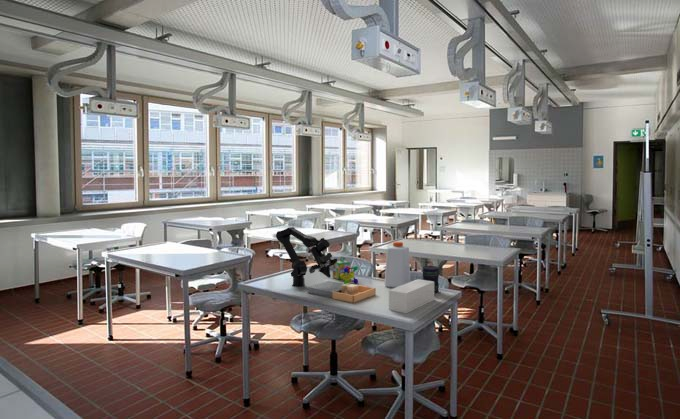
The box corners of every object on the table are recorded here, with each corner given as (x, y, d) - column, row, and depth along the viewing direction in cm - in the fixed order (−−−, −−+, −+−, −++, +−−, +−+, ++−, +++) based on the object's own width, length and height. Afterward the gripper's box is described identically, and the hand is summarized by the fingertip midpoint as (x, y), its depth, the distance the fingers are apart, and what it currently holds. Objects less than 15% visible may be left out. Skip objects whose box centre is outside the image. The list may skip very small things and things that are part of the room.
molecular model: (346, 286, 298) (346, 268, 297) (338, 284, 303) (339, 266, 303) (359, 283, 305) (359, 266, 305) (352, 281, 311) (352, 264, 310)
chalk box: (332, 277, 323) (332, 256, 321) (343, 276, 327) (343, 255, 326) (338, 280, 315) (338, 258, 313) (350, 278, 319) (350, 257, 318)
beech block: (341, 285, 274) (352, 287, 270) (347, 283, 279) (358, 285, 274) (341, 295, 275) (352, 297, 270) (347, 293, 280) (358, 295, 275)
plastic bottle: (412, 284, 303) (412, 241, 301) (405, 289, 290) (406, 244, 287) (390, 281, 310) (390, 240, 307) (382, 286, 296) (382, 243, 294)
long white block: (417, 297, 273) (417, 279, 272) (434, 300, 266) (434, 281, 265) (388, 309, 248) (388, 290, 247) (406, 313, 241) (406, 293, 240)
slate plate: (307, 292, 282) (307, 286, 282) (328, 286, 298) (328, 280, 298) (333, 298, 270) (333, 292, 270) (353, 291, 286) (353, 285, 285)
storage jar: (438, 294, 278) (439, 269, 277) (422, 293, 280) (422, 268, 279) (438, 289, 288) (438, 266, 287) (422, 289, 290) (422, 265, 289)
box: (332, 298, 269) (332, 291, 269) (355, 290, 286) (355, 284, 286) (353, 303, 260) (353, 296, 259) (375, 294, 277) (375, 288, 277)
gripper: (310, 254, 277) (322, 276, 272) (335, 245, 288) (347, 267, 283) (303, 262, 285) (315, 284, 281) (328, 253, 296) (339, 274, 291)
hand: (329, 277), depth 284 cm, fingers closed
